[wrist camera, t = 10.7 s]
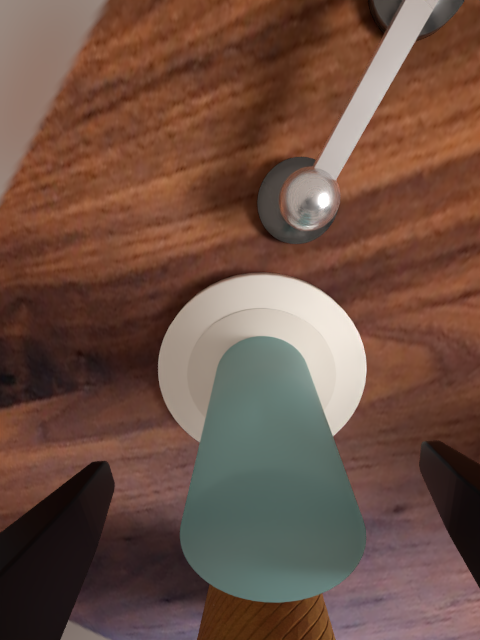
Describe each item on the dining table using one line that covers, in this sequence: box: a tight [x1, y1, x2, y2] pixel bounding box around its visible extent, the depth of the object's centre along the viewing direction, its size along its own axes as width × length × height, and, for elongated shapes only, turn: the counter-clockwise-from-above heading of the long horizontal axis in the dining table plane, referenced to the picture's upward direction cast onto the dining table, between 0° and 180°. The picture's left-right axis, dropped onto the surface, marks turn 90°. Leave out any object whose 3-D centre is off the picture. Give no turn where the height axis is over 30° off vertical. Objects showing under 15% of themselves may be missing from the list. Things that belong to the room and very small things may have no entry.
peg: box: [180, 336, 366, 603], centre depth 10 cm, size 4×4×7 cm
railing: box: [257, 0, 464, 244], centre depth 9 cm, size 13×9×4 cm
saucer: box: [158, 272, 367, 443], centre depth 14 cm, size 9×9×1 cm
